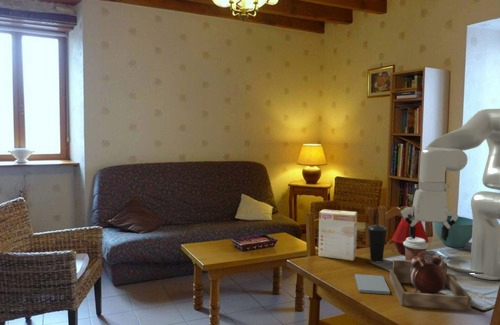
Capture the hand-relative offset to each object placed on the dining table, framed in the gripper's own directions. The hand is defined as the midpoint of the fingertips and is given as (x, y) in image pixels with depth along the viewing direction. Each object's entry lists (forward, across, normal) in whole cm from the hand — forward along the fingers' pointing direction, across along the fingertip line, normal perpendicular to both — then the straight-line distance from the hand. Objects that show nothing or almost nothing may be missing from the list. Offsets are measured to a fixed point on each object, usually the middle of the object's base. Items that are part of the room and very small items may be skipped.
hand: (428, 238), depth 130 cm
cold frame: (+19, -1, -1) cm, 19 cm away
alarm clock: (+19, -1, -1) cm, 19 cm away
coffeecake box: (+19, +26, -36) cm, 48 cm away
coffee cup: (+19, -3, -25) cm, 31 cm away
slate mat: (+19, +16, -6) cm, 26 cm away
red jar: (+19, -6, -46) cm, 50 cm away
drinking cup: (+19, +10, -34) cm, 40 cm away
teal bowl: (+18, -29, -61) cm, 70 cm away
